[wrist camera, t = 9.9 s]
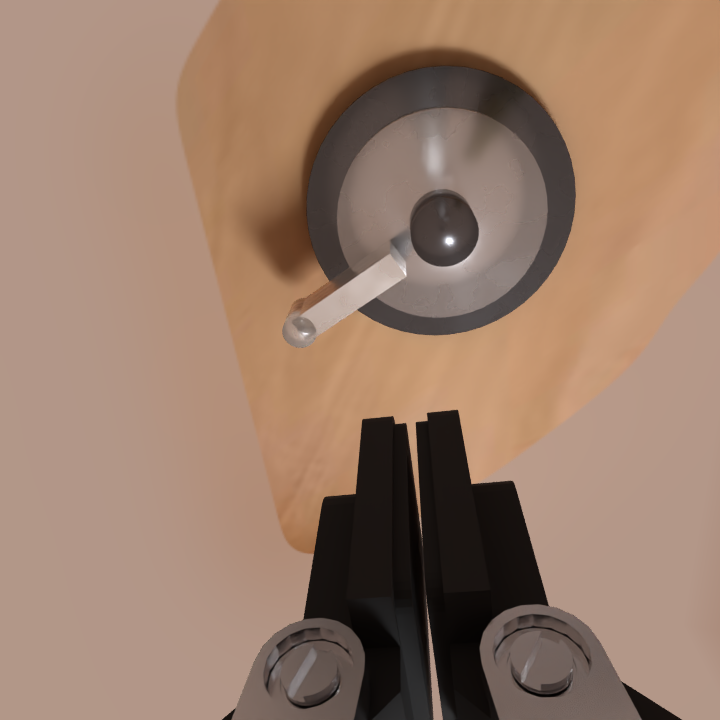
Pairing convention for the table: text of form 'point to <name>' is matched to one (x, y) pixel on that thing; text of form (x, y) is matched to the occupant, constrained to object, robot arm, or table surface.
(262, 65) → the table surface
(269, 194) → the table surface
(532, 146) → the stand
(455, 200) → the dial
